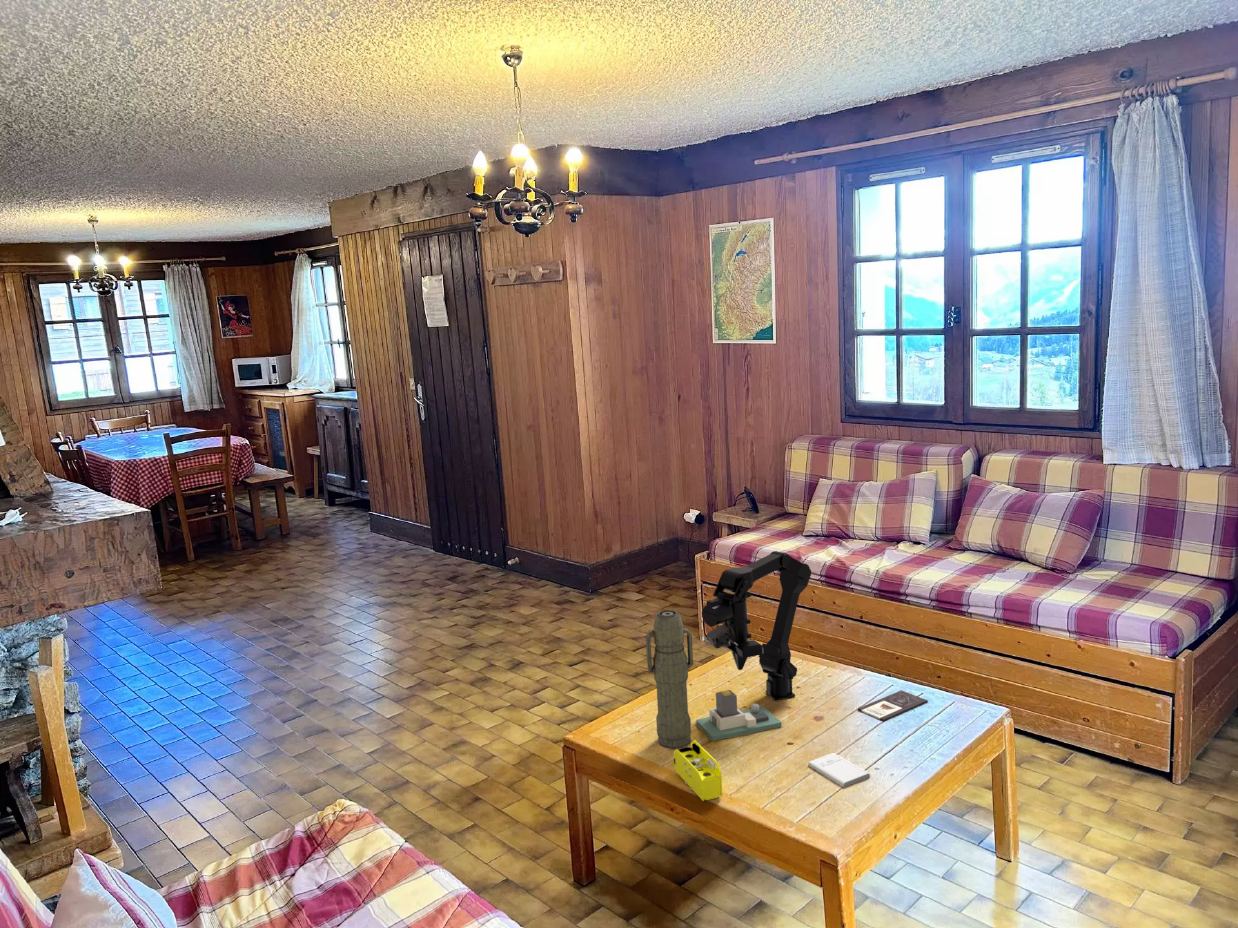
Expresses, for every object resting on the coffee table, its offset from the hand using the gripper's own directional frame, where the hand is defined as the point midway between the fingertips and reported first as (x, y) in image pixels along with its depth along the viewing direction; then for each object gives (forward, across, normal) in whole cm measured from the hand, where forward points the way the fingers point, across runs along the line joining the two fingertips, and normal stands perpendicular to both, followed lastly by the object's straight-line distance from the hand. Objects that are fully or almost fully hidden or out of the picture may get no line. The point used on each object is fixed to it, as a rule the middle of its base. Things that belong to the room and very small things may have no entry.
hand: (740, 669), depth 251 cm
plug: (+11, +6, -8) cm, 15 cm away
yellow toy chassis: (+12, +31, -27) cm, 42 cm away
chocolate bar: (+14, +15, +38) cm, 44 cm away
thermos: (+12, +8, -24) cm, 28 cm away
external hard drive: (+13, +39, +6) cm, 42 cm away
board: (+12, +7, -5) cm, 15 cm away
